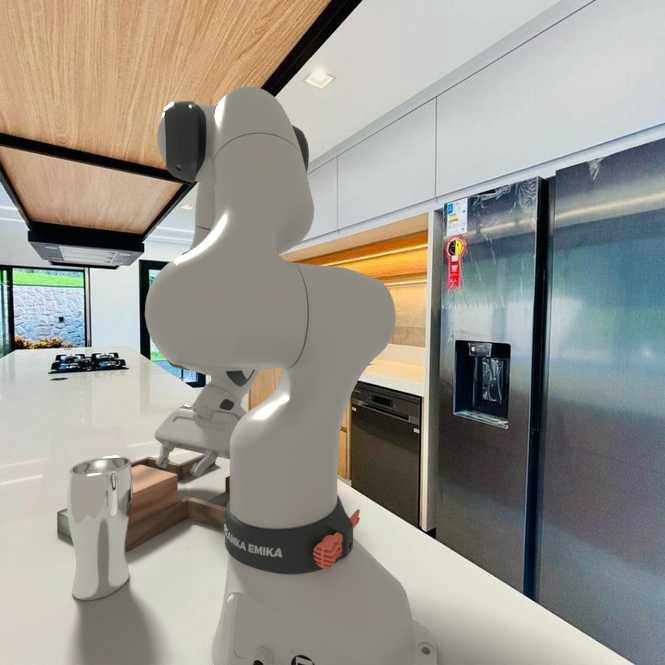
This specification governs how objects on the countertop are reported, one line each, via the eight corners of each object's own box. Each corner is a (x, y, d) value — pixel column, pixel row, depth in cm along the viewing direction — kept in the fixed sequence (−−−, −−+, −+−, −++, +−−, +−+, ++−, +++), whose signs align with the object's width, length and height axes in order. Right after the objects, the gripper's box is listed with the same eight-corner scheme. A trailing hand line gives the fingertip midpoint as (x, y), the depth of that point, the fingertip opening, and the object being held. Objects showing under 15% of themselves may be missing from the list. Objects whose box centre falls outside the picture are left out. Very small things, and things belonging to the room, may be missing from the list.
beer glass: (130, 559, 51) (130, 452, 51) (135, 589, 45) (135, 468, 45) (69, 577, 47) (69, 461, 47) (65, 612, 42) (65, 480, 41)
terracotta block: (177, 514, 64) (177, 474, 64) (122, 544, 55) (122, 497, 55) (140, 502, 69) (140, 464, 69) (83, 527, 60) (83, 484, 60)
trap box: (301, 484, 76) (301, 469, 76) (164, 580, 47) (164, 556, 47) (183, 456, 92) (183, 444, 92) (25, 515, 63) (25, 498, 63)
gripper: (172, 396, 81) (130, 453, 73) (244, 405, 72) (206, 472, 63) (188, 412, 85) (150, 468, 77) (259, 422, 76) (225, 488, 67)
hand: (176, 470), depth 70 cm, fingers open, 8 cm apart
